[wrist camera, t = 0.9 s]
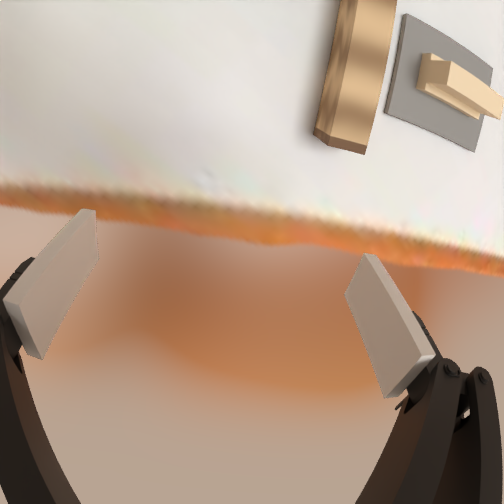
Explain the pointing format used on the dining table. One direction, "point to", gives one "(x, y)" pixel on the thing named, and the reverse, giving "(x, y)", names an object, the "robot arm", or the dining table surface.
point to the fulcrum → (441, 85)
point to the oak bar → (355, 73)
